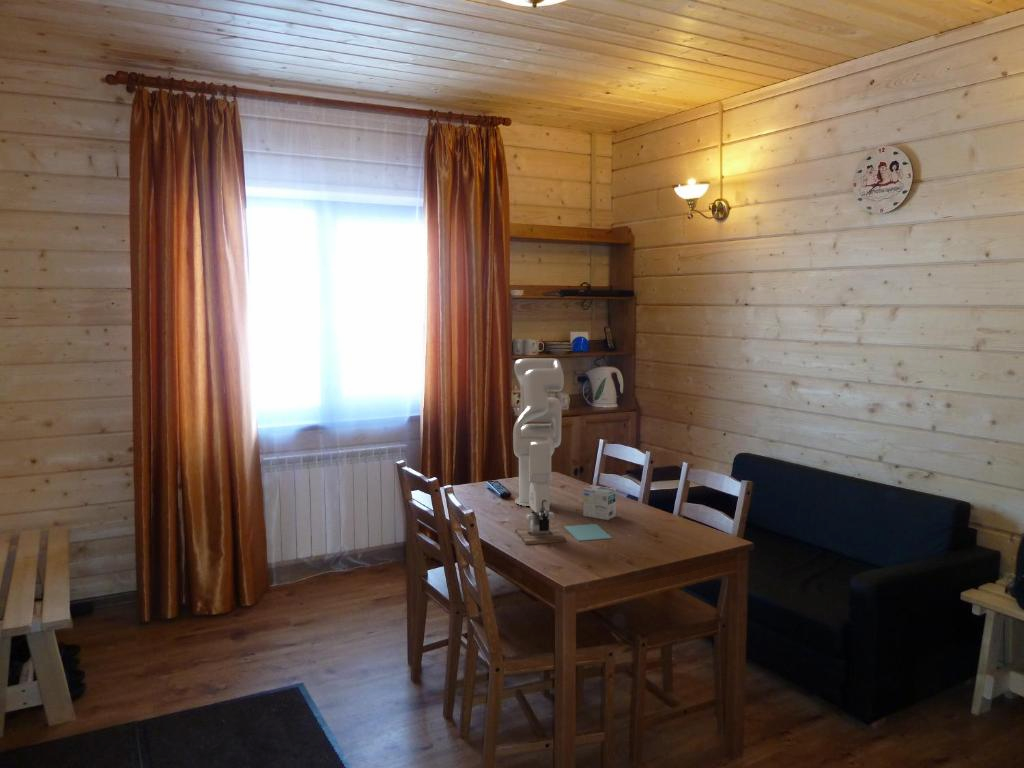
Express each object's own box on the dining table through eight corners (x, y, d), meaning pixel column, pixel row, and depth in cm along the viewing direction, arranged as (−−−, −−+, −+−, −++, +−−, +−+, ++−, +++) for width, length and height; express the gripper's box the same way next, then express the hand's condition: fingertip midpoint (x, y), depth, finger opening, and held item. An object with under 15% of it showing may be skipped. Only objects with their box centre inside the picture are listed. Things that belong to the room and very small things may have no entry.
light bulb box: (616, 516, 284) (616, 488, 282) (608, 520, 278) (608, 491, 277) (591, 512, 290) (591, 484, 288) (582, 516, 284) (582, 487, 283)
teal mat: (563, 527, 270) (563, 526, 270) (596, 524, 273) (596, 524, 273) (578, 541, 255) (578, 540, 255) (612, 538, 257) (612, 537, 257)
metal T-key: (526, 536, 260) (526, 513, 259) (551, 534, 262) (551, 511, 261) (528, 539, 257) (528, 515, 257) (554, 537, 259) (554, 514, 259)
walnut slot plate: (515, 532, 265) (515, 528, 265) (553, 528, 268) (553, 525, 268) (525, 544, 252) (525, 541, 251) (565, 541, 255) (565, 537, 255)
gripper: (523, 472, 265) (523, 520, 267) (536, 483, 248) (536, 534, 250) (543, 471, 267) (543, 518, 269) (558, 482, 250) (558, 533, 252)
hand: (540, 526), depth 259 cm, fingers open, 9 cm apart
